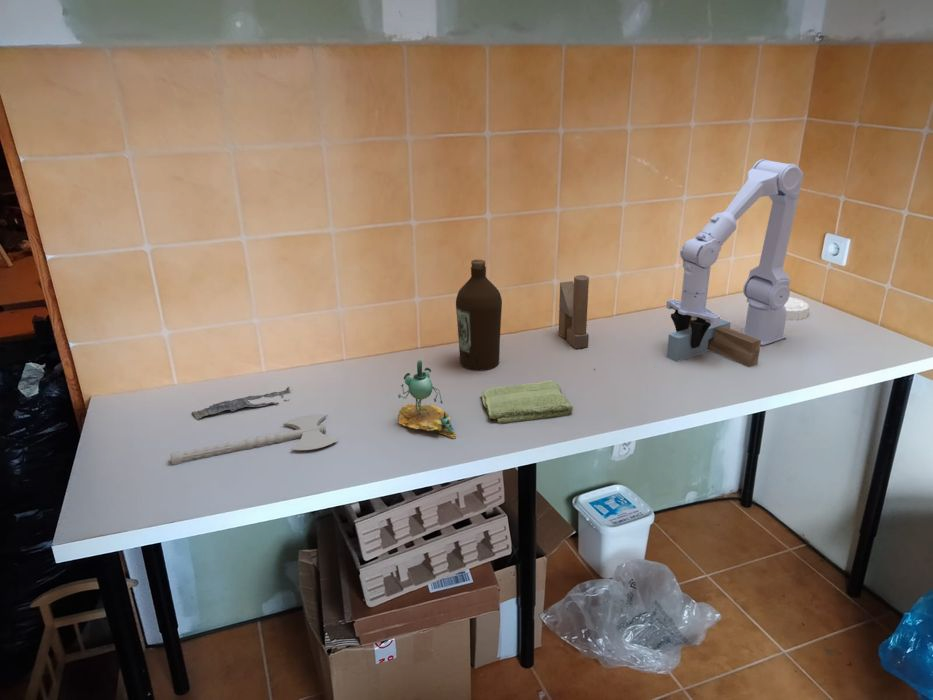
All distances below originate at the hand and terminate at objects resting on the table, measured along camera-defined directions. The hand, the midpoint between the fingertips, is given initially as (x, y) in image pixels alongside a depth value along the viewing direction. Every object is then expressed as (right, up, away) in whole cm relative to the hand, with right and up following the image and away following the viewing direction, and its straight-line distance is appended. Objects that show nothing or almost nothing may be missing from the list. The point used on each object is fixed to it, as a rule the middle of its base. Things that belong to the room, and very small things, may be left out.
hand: (688, 344), depth 170 cm
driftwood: (-101, -14, -19) cm, 104 cm away
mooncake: (+34, +8, +26) cm, 44 cm away
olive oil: (-50, -5, -1) cm, 51 cm away
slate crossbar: (+3, -2, +3) cm, 4 cm away
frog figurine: (-62, -16, -28) cm, 70 cm away
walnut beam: (+8, -2, +2) cm, 8 cm away
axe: (-94, -20, -34) cm, 102 cm away
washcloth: (-41, -14, -22) cm, 49 cm away
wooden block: (-26, +1, +10) cm, 28 cm away
